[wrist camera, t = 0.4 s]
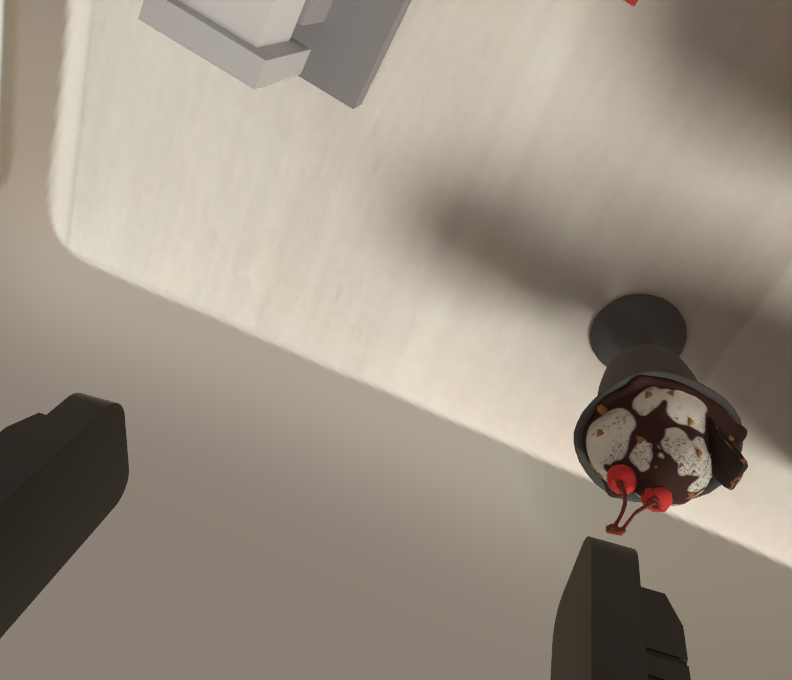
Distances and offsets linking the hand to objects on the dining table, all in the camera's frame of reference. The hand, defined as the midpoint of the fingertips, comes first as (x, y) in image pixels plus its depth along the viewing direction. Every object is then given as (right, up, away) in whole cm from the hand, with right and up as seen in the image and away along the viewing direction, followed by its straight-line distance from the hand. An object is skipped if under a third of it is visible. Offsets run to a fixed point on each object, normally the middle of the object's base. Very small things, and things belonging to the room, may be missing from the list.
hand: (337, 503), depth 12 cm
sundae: (+14, +3, +26) cm, 30 cm away
